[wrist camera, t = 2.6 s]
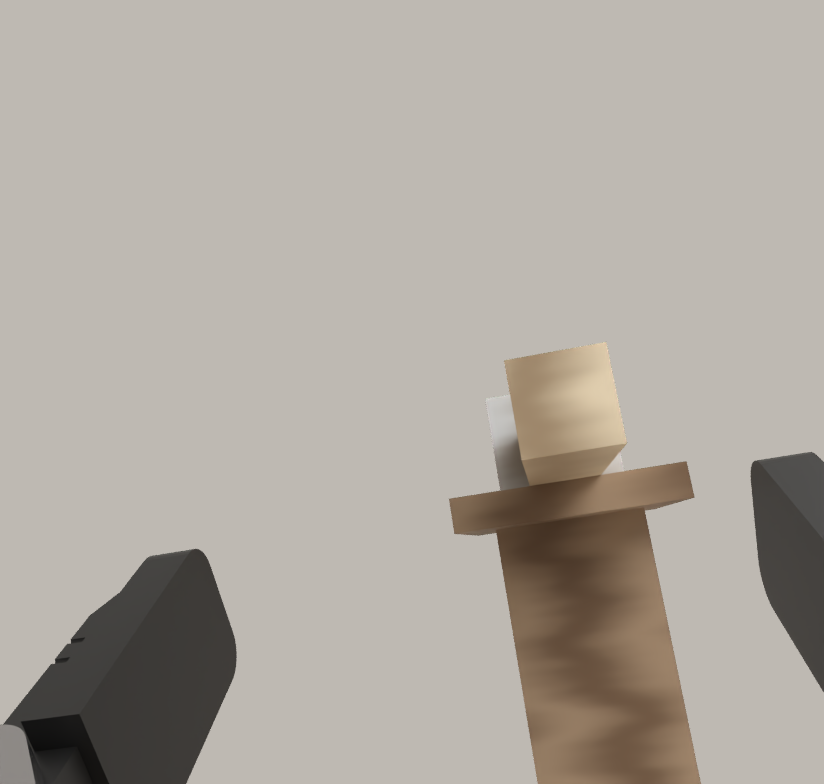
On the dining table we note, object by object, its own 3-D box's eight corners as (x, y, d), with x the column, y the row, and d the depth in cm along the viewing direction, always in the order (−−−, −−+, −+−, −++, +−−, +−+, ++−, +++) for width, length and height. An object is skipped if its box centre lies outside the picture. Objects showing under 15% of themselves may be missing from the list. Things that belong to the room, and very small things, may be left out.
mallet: (470, 468, 23) (444, 306, 24) (507, 503, 44) (493, 417, 45) (681, 434, 22) (644, 267, 23) (615, 486, 43) (597, 399, 44)
